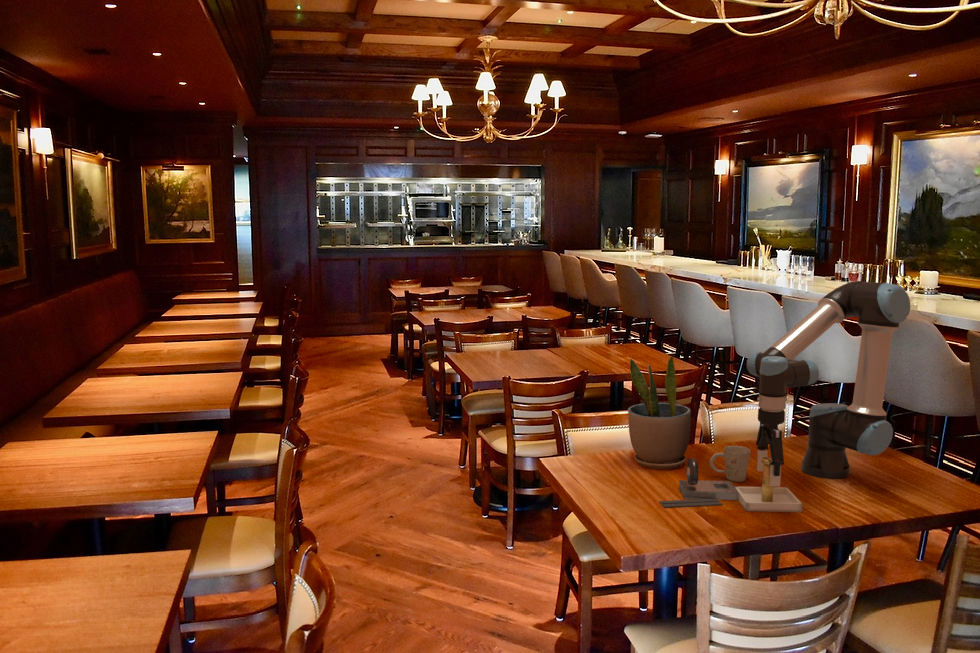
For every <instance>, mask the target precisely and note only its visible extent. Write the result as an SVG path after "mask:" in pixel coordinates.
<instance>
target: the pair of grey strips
mask: <svg viewBox="0 0 980 653" xmlns="http://www.w3.org/2000/svg"><path fill="white" fill-rule="evenodd" d="M658 503H659V504H660V505H661V506H662V507H663V509H671V508H672V509H673V508H689V507H690V508H691V507H692V508H693V507H694V508H695V507H713V506H716V507H717V506H723V503H722V502H721V501H720V500H718V499H675V500H674V499H672V500H659V501H658Z"/></svg>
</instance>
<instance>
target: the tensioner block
mask: <svg viewBox="0 0 980 653" xmlns="http://www.w3.org/2000/svg"><path fill="white" fill-rule="evenodd" d="M685 470H686V479H683V480H682V479H678V480H679V484H678V486H679V487H678V488H679V490H680V493H681V494H682V496H683V498H684V500H695V499H718V500H719V501H720V500H721V501H722V500H723V501H724V500H725V501H726V500H727V501H739V500H738V494H739V492H738V491H737V489H736V488H735V487H736V486H735V485H734V484H733V481H730V480H699V473H700V472H699V464H698V460H697V458H688V459H687V460H686V469H685Z"/></svg>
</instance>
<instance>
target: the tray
mask: <svg viewBox="0 0 980 653" xmlns="http://www.w3.org/2000/svg"><path fill="white" fill-rule="evenodd" d="M735 488H736V489H737V491H738V492H739V494H738V500H737V501H738V502H739V503H740V504H741V506H742V507H743V509H744V510H745V511H746V512H768V513H769V512H776V513H777V512H778V513H779V512H780V513H802V512H803V503H802V502H801V501H800V500H799V499H798V498H797V497H796V495H795V494H794V493H793V492H792V491H791V490H790V488H789V487H786V486H785V487H784V486H783V487H782V486H773V502H762V501H761V499H762V486H735Z"/></svg>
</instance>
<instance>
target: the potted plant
mask: <svg viewBox="0 0 980 653" xmlns="http://www.w3.org/2000/svg"><path fill="white" fill-rule="evenodd" d="M673 356H674V355H671V356H670V358H669V359H668V362H667V366H666V373H665V382H664V388H665V391H666V396H667V399H668V402H659V395H658V391H657V390H658V389H657V386H656V383H655V379H654V376H653V371H652V367H651V365H650V364H648V366H647V367H648V375H649V386H648V383H647V382H646V379H645V377H644V374H643V373H642V371H641V369H640V368H639V367H638V365H637V364H636V362H635V360H634V359H632V358H630V359H629V360H630V361H629V370H630V371H629V373H630V377H631V382H632V385H633V386H634V388H635V389H636V391H637V392H638V394H639V397H641V399H642V401H643V403H639V404H638V403H637V404H634V405H631V406H629V407H628V408H627V417H628V418H627V419H628V432H629V433H628V434H629V438H630V440H629V441H630V444H631V446H632V449H633V451H634V454H635V456H634V460H635V461H636V463H637V464H638V465H640V466H642V467H646V468H648V469H655V470H670V469H672V470H673V469H676V468H681V467H682V466H683V465H684V464H685V463H687V458H686V457H687V456H685V454H686V452H687V449H688V447H689V442H690V436H691V417H692V416H691V415H692V414H691V412H692V411H691V409H690V407H687V406H685V405H681V404H678V403H677V378H676V369H675V362H674V357H673Z"/></svg>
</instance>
